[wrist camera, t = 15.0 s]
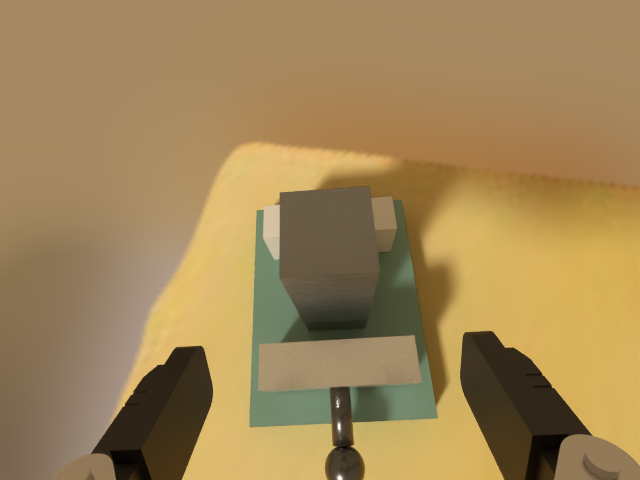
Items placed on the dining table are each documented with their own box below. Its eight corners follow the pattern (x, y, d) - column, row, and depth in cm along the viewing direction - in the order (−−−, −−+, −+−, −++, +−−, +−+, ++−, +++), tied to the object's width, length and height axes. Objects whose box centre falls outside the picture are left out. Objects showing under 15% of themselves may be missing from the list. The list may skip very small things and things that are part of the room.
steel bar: (307, 277, 27) (279, 192, 16) (360, 274, 26) (369, 186, 15) (308, 331, 25) (279, 278, 14) (365, 328, 25) (380, 271, 14)
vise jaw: (423, 480, 21) (439, 498, 17) (271, 487, 21) (255, 505, 17) (404, 345, 24) (414, 335, 20) (272, 352, 24) (259, 344, 21)
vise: (430, 416, 24) (455, 421, 18) (256, 425, 24) (230, 432, 19) (398, 211, 31) (409, 170, 25) (262, 221, 31) (244, 183, 26)
